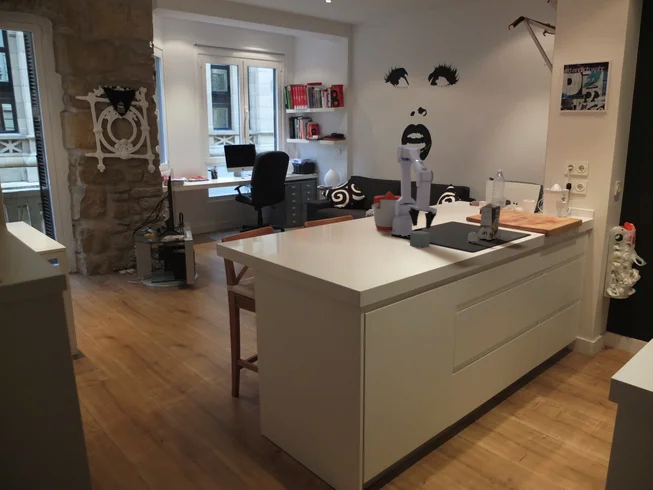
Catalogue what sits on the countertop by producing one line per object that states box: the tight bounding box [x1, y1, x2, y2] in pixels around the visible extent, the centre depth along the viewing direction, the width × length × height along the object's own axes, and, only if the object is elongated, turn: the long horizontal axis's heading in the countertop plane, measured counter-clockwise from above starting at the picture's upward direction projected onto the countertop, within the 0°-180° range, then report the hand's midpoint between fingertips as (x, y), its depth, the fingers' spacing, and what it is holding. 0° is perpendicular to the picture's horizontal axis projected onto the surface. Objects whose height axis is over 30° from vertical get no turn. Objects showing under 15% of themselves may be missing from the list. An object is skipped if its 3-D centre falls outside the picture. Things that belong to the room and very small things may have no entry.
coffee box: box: [478, 204, 501, 239], centre depth 248 cm, size 9×6×16 cm
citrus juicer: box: [371, 190, 405, 232], centre depth 266 cm, size 16×17×20 cm
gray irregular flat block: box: [467, 227, 485, 241], centre depth 238 cm, size 7×2×8 cm, turn 51°
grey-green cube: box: [409, 230, 431, 249], centre depth 232 cm, size 6×6×6 cm
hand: (421, 227), depth 232 cm, fingers open, 7 cm apart
